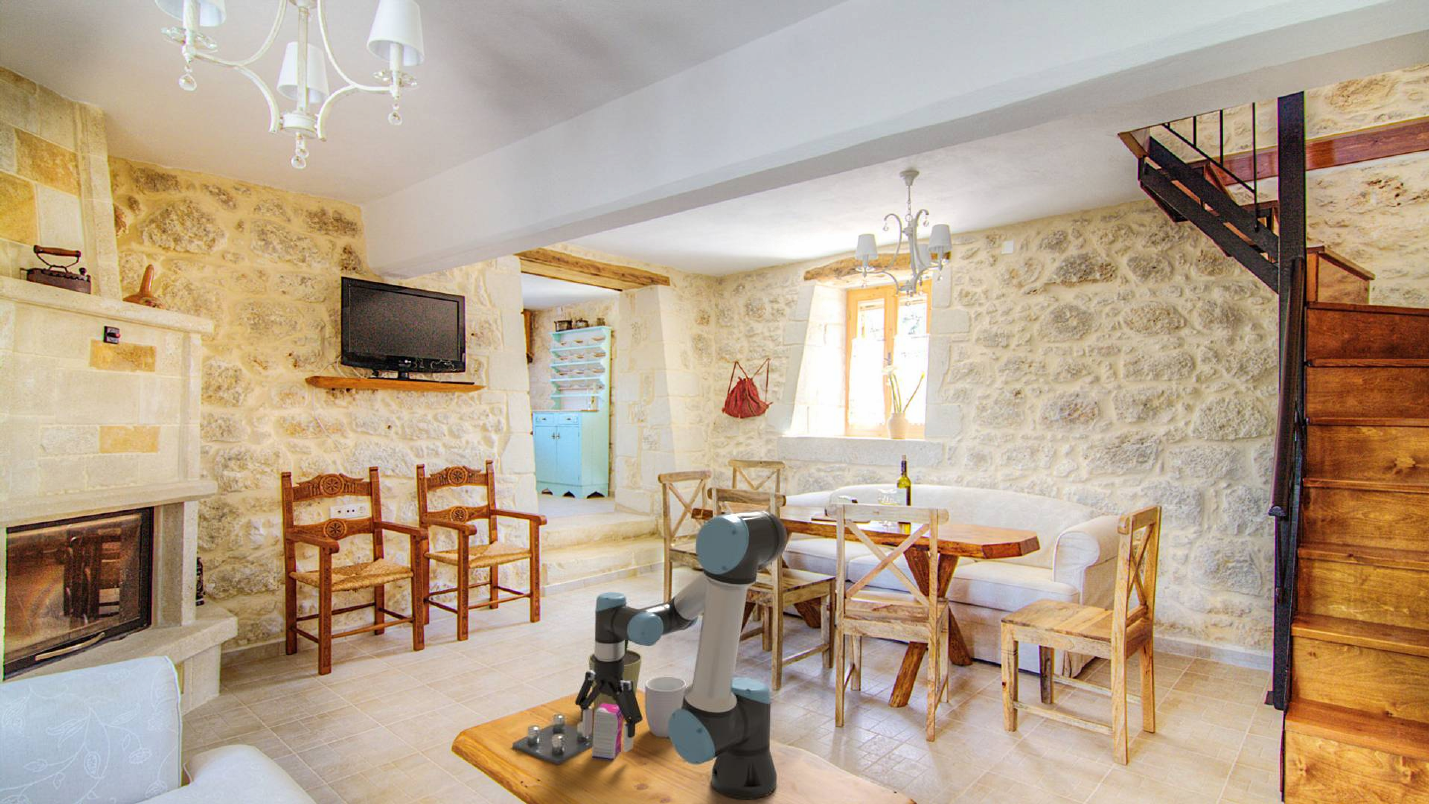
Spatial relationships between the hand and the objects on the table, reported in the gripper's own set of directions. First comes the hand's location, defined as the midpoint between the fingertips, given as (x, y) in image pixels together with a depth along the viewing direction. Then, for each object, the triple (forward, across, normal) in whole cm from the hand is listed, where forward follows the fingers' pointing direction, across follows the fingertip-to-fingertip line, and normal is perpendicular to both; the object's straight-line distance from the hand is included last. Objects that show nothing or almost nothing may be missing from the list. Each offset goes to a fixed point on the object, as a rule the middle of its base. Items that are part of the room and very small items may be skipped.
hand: (607, 742), depth 176 cm
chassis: (+3, +14, +3) cm, 15 cm away
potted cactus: (+3, +17, -22) cm, 28 cm away
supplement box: (+3, 0, 0) cm, 3 cm away
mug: (+3, -5, -19) cm, 20 cm away
